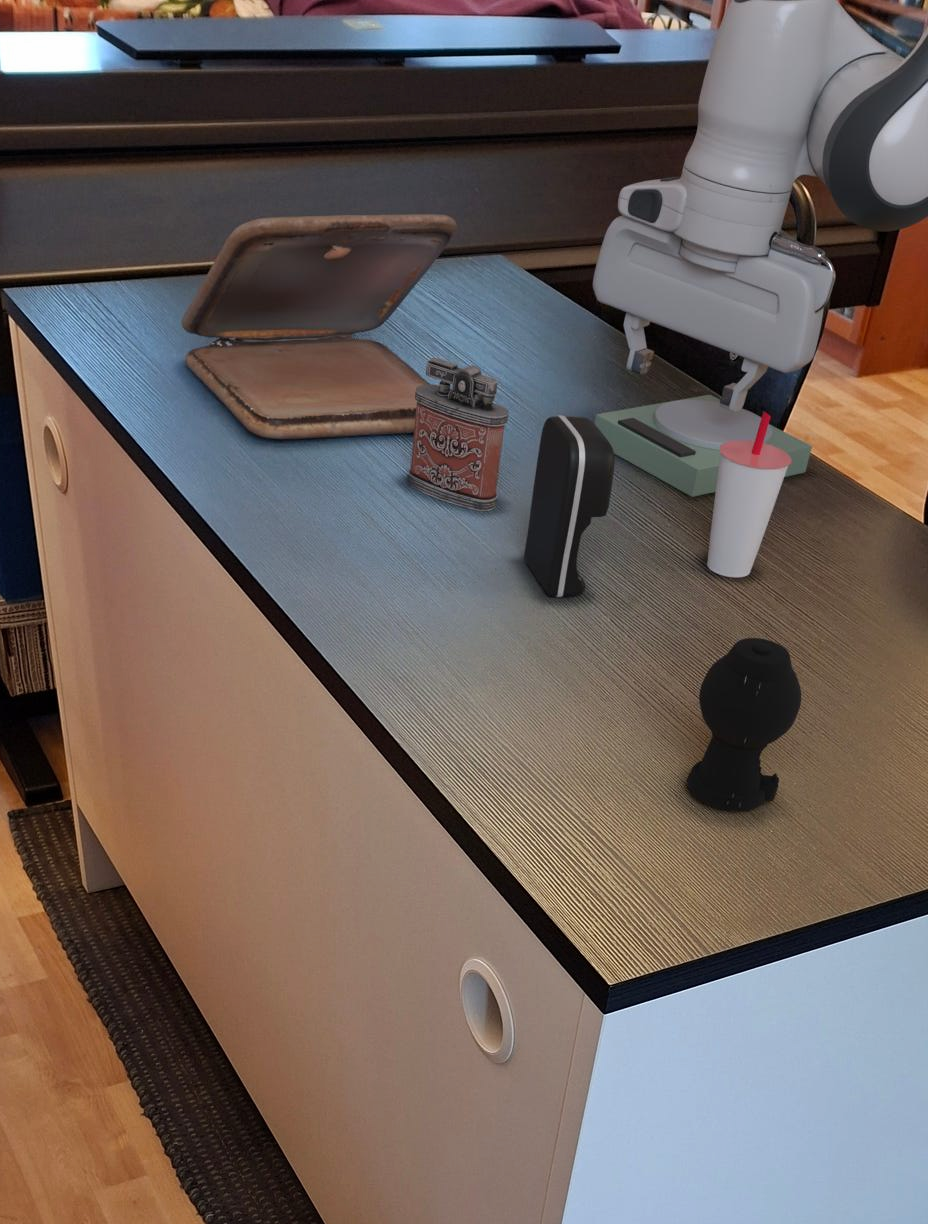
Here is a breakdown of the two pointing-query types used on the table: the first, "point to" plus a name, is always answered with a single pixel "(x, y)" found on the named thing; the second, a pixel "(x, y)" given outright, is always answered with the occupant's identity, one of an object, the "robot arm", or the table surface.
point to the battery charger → (566, 499)
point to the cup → (744, 501)
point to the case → (313, 322)
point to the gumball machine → (744, 723)
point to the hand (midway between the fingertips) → (683, 389)
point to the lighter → (457, 436)
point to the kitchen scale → (690, 440)
